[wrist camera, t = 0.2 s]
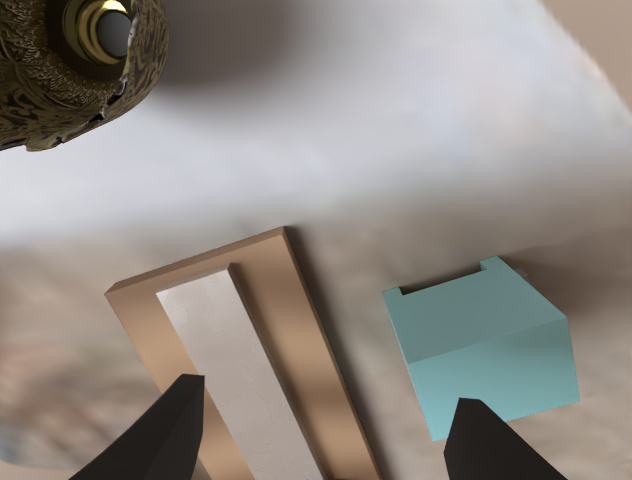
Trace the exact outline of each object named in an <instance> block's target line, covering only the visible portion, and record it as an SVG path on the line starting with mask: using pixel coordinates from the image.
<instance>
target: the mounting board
mask: <svg viewBox="0 0 632 480" xmlns="http://www.w3.org/2000/svg"><path fill="white" fill-rule="evenodd" d="M227 263H230V264H231V266H232V268H233V270H234V272H235V275H236V277H237V279H238V281H239V284H240V286H241V288H242V290H243V292H244V295H245V297H246V299H247V301H248V303H249V306H250V308H251V310H252V312H253V314H254V317H255V319H256V321H257V323H258V325H259V328H260V330H261V332H262V334H263V336H264V339H265V341H266V343H267V345H268V347H269V350H270V352H271V354H272V356H273V359H274V361H275V363H276V365H277V367H278V370H279V372H280V374H281V376H282V378H283V381H284V383H285V385H286V387H287V389H288V392H289V394H290V396H291V398H292V400H293V403H294V405H295V407H296V409H297V411H298V414H299V416H300V418H301V420H302V422H303V425H304V427H305V429H306V431H307V434H308V436H309V438H310V440H311V442H312V445H313V447H314V449H315V451H316V453H317V456H318V458H319V460H320V462H321V464H322V467H323V469H324V471H325V473H326V475H327V478H328V480H335V479H339V478H340V480H383V479H382V476H381V474H380V471H379V469H378V466H377V464H376V461H375V459H374V456H373V454H372V451H371V448H370V446H369V443H368V441H367V438H366V436H365V433H364V431H363V428H362V426H361V423H360V420H359V418H358V415H357V413H356V410H355V408H354V405H353V403H352V400H351V398H350V395H349V392H348V390H347V387H346V385H345V382H344V380H343V377H342V375H341V372H340V370H339V367H338V364H337V362H336V359H335V357H334V354H333V352H332V349H331V347H330V344H329V342H328V339H327V336H326V334H325V331H324V329H323V326H322V324H321V321H320V319H319V316H318V314H317V311H316V308H315V306H314V303H313V301H312V298H311V296H310V293H309V291H308V288H307V286H306V283H305V280H304V278H303V275H302V273H301V270H300V268H299V265H298V263H297V260H296V258H295V255H294V253H293V250H292V247H291V245H290V242H289V240H288V237H287V235H286V232H285V230H284V227H280V228H277V229H274V230H271V231H268V232H265V233H262V234H259V235H256V236H253V237H250V238H247V239H244V240H241V241H238V242H235V243H232V244H229V245H226V246H223V247H220V248H217V249H215V250H212V251H209V252H206V253H203V254H200V255H197V256H194V257H191V258H188V259H185V260H182V261H179V262H176V263H173V264H170V265H167V266H164V267H161V268H158V269H155V270H152V271H149V272H147V273H144V274H141V275H138V276H135V277H132V278H129V279H126V280H123V281H120V282H117V283H115V284H114V285H113V286H112V287H111V288H110V289H109V290H108V291H107V292H106V293H105V294H104V295H105V296H106V298H107V300H108V302H109V303H110V305H111V307H112V308H113V310H114V312H115V314H116V315H117V317H118V319H119V321H120V322H121V324H122V326H123V327H124V329H125V331H126V333H127V334H128V336H129V338H130V339H131V341H132V343H133V345H134V346H135V348H136V350H137V351H138V353H139V355H140V357H141V358H142V360H143V362H144V363H145V365H146V367H147V369H148V370H149V372H150V374H151V375H152V377H153V379H154V381H155V382H156V384H157V386H158V387H159V389H160V391H161V393H162V394H163V393H164V392H165V391H166V390H167V389H168V388H169V387H170V386H171V385H172V383H173V382H174V381H175V380H176V379H177V378H178V377H179V376H180V375H181V374H194V375H199V373H198V372H197V370H196V368H195V366H194V364H193V362H192V360H191V358H190V357H189V355H188V353H187V351H186V349H185V347H184V345H183V343H182V342H181V340H180V338H179V336H178V334H177V332H176V330H175V329H174V327H173V325H172V323H171V321H170V319H169V317H168V315H167V314H166V312H165V310H164V308H163V306H162V304H161V302H160V300H159V299H158V297H157V295H156V292H157V291H158V289H159V288H160V287H161V285H164V284H167V283H170V282H173V281H176V280H179V279H182V278H185V277H188V276H191V275H194V274H197V273H200V272H203V271H206V270H209V269H212V268H215V267H218V266H221V265H224V264H227ZM198 456H199V458H200V460H201V461H202V463H203V465H204V466H205V468H206V470H207V472H208V473H209V475H210V477H211V478H212V480H255V478H254V476H253V474H252V473H251V471H250V469H249V467H248V465H247V463H246V461H245V459H244V458H243V456H242V454H241V452H240V450H239V448H238V446H237V444H236V443H235V441H234V439H233V437H232V435H231V433H230V431H229V430H228V428H227V426H226V424H225V422H224V420H223V418H222V416H221V415H220V413H219V411H218V409H217V407H216V405H215V403H214V401H213V400H212V398H211V396H210V394H209V392H208V390H207V388H206V386H205V389H204V417H203V436H202V440H201V444H200V448H199V452H198Z"/></svg>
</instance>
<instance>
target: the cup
mask: <svg viewBox="0 0 632 480" xmlns="http://www.w3.org/2000/svg"><path fill="white" fill-rule="evenodd" d="M110 12H117V13H121V14H123V15H125V16H126V17H127V18H128V19H129V20H130V21H131V30H130V33H129V38H128V46H127V55H125V56H115V55H112V54H110V53H108V52H107V51H106V50H104V49H103V47H102V46H101V45H100V43H99V41H98V38H97V33H96V28H97V24H98V21H99V20H100V18H101V17H102V16H103V15H105V14H107V13H110ZM168 47H169V22H168V16H167V11H166V7H165V3H164V0H0V151H2V150H5V149H9V148H13V147H17V146H22V145H25V146H26V151H30V152H34V151H42V150H47V149H51V148H54V147H56V146H57V145H59V144H61V143H62V144H63V143H65V142H68V141H70V140H72V139H74V138H76V137H78V136H80V135H81V134H84V133H86V132H88V131H91V130H93V129H95V128H97V127H99V126H101V125H104V124H106V123H108V122H110V121H112V120H114V119H116V118H118V117H120V116H122V115H123V114H125V113H126V112H128V111H130V110H131V109H132V108H134V107H135V106H136V105H137V104H139V103H140V102H141V101H142V100H143V99H144V98H145V97H146V96H147V95H148V94H149V93H150V91H151V90H152V88H153V87H154V86H155V84H156V83H157V81H158V79H159V77H160V75H161V73H162V71H163V68H164V66H165V62H166V58H167V54H168Z"/></svg>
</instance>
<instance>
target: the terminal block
mask: <svg viewBox="0 0 632 480" xmlns="http://www.w3.org/2000/svg"><path fill="white" fill-rule="evenodd" d="M479 263H480V267H481V271H480V272H477V273H474V274H471V275H467V276H464V277H461V278H458V279H455V280H451V281H448V282H445V283H442V284H439V285H435V286H432V287H429V288H426V289H423V290H419V291H416V292H413V293H410V294H407V295H402V293H401V291H400V289H399V287H396V288H393V289H389V290H386V291H383V292H382V295H383V298H384V301H385V304H386V307H387V310H388V313H389V316H390V319H391V322H392V326H393V329H394V332H395V335H396V338H397V341H398V344H399V347H400V350H401V353H402V356H403V359H404V362H405V364H406V367H407V370H408V373H409V376H410V379H411V381H412V384H413V387H414V390H415V393H416V395H417V398H418V401H419V404H420V407H421V410H422V412H423V415H424V418H425V421H426V424H427V426H428V429H429V432H430V435H431V438H432V441H433V442H434V441H437V440H441V439H444V438H448V435H449V432H450V428H451V425H452V421H453V418H454V414H455V410H456V407H457V403H458V400H459V397H460V398H471V399H480V400H481V401H483V402H484V403H485V404H486V405H487V406H488V407H489V408H490V409H492V410H493V411H494V412H495V413H496V414H497V415H498V416H499V417H500V418H501V419H502V420H503V421H504V422H506V421H510V420H513V419H517V418H521V417H524V416H528V415H532V414H535V413H539V412H542V411H546V410H550V409H553V408H557V407H561V406H564V405H568V404H571V403H575V402H579V401H580V395H579V388H578V382H577V376H576V370H575V363H574V357H573V351H572V345H571V338H570V332H569V326H568V320H567V317H566V316H565V315H564V314H563V313H562V312H561V311H560V310H558V309H557V308H556V307H555V306H554V305H553V304H552V303H550V302H549V301H548V300H547V299H546V298H545V297H544V296H542V295H541V294H540V293H539V292H538V291H537V290H536V289H534V288H533V287H532V286H531V282H530V277H529V274H528V273H526V272H525V271H524V270H523V269H522V268H518V269H515V270H513V269H511V268H510V267H509V266H508V265H507V264H506V263H505V262H503V261H502V260H501V259H500V258H499V257H498V256H494V257H491V258H488V259H485V260H482V261H479Z"/></svg>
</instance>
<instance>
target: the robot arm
mask: <svg viewBox="0 0 632 480" xmlns="http://www.w3.org/2000/svg"><path fill="white" fill-rule="evenodd" d="M204 389H205V375H194V374H181V375H180V376H179V377H178V378H177V379H176V380H175V381H174V382H173V383H172V385H171V386H170V387H169V388H168V389H167V390H166V391H165V392H164V393H163V394H162V395H161V397H160V398H159V399H158V400H157V401H156V402H155V403H154V404H153V405H152V406H151V407H150V408H149V409H148V410H147V411H146V412H145V413H144V414H143V415H142V416H141V417H140V418H139V419H138V420H137V421H136V422H135V423H134V424H133V425H132V426H131V427H130V428H129V429H127V430H126V431H125V432H124V433H123V434H122V435H121V436H120V437H119V438H118V439H116V440H115V441H114V442H113V443H112V444H111V445H110V446H109V447H107V448H106V449H105V450H104V451H103V452H102V453H101V454H99V455H98V456H97V457H96V458H95V459H93V460H92V461H91V462H90V463H89V464H87V465H86V466H85V467H84V468H82V469H81V470H80V471H79V472H77V473H76V474H75V475H73V476H72V477H71V478H70V479H68V480H191V477H192V474H193V471H194V467H195V464H196V460H197V456H198V452H199V448H200V444H201V440H202V436H203V417H204ZM444 457H445V462H446V466H447V471H448V475H449V479H450V480H568V479H566V478H565V477H564V476H563V475H562V474H561V473H559V472H558V471H557V470H556V469H555V468H554V467H553V466H551V465H550V464H549V463H548V462H547V461H546V460H545V459H544V458H543V457H541V456H540V455H539V454H538V453H537V452H536V451H535V450H534V449H533V448H532V447H531V446H530V445H528V444H527V443H526V442H525V441H524V440H523V439H522V438H521V437H520V436H519V435H518V434H517V433H516V432H515V431H514V430H513V429H512V428H511V427H509V426H508V425H507V424H506V423H505V422H504V421H503V420H502V419H501V418H500V417H499V416H498V415H497V414H496V413H495V412H494V411H493V410H492V409H490V408H489V407H488V406H487V405H486V404H485V403H484V402H483V401H481V400H480V399H471V398H460V397H459V400H458V403H457V407H456V410H455V414H454V418H453V421H452V425H451V428H450V432H449V435H448V439H447V442H446V446H445V449H444Z"/></svg>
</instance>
